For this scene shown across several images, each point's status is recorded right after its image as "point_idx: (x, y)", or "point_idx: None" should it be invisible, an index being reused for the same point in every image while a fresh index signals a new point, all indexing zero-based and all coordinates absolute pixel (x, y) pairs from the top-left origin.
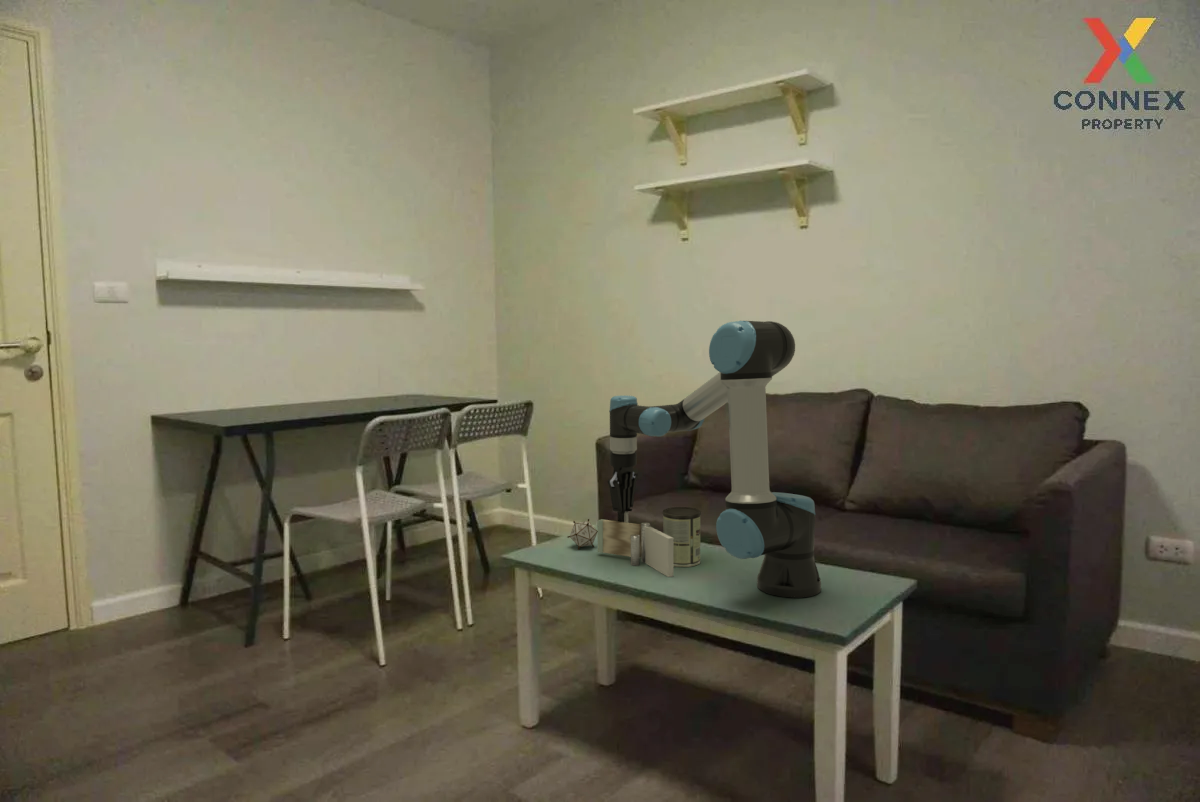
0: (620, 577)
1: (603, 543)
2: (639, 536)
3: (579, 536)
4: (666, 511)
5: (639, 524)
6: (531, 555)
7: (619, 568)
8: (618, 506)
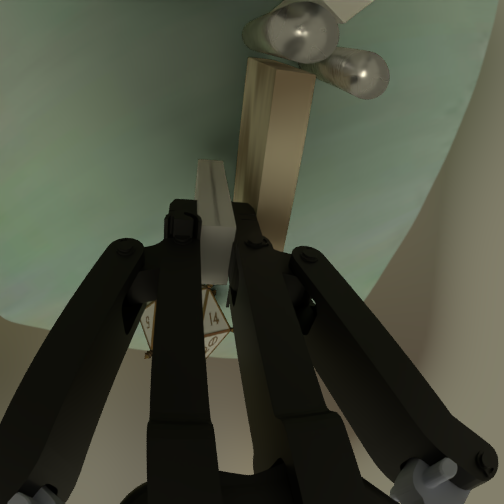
0: (445, 79)
1: None
2: (363, 50)
3: (225, 318)
4: None
5: (284, 80)
6: None
7: (370, 101)
8: (341, 286)
